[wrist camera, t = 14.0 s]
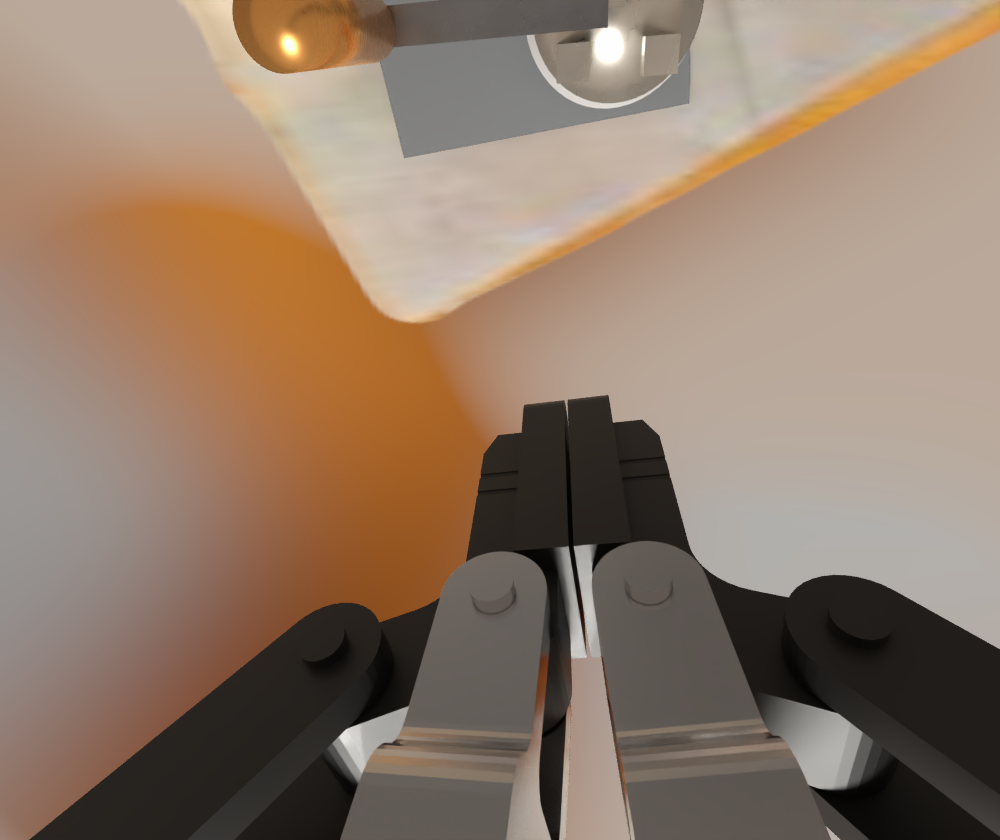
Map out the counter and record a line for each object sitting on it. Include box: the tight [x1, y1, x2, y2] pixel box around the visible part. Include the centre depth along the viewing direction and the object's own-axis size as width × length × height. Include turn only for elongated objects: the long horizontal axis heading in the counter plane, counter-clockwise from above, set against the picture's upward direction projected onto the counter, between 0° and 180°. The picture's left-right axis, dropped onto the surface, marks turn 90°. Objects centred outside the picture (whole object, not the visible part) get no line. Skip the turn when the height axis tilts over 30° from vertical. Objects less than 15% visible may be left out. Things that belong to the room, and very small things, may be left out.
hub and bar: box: [233, 0, 704, 103], centre depth 26 cm, size 19×9×16 cm, turn 94°
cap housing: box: [380, 0, 689, 158], centre depth 35 cm, size 20×14×5 cm
